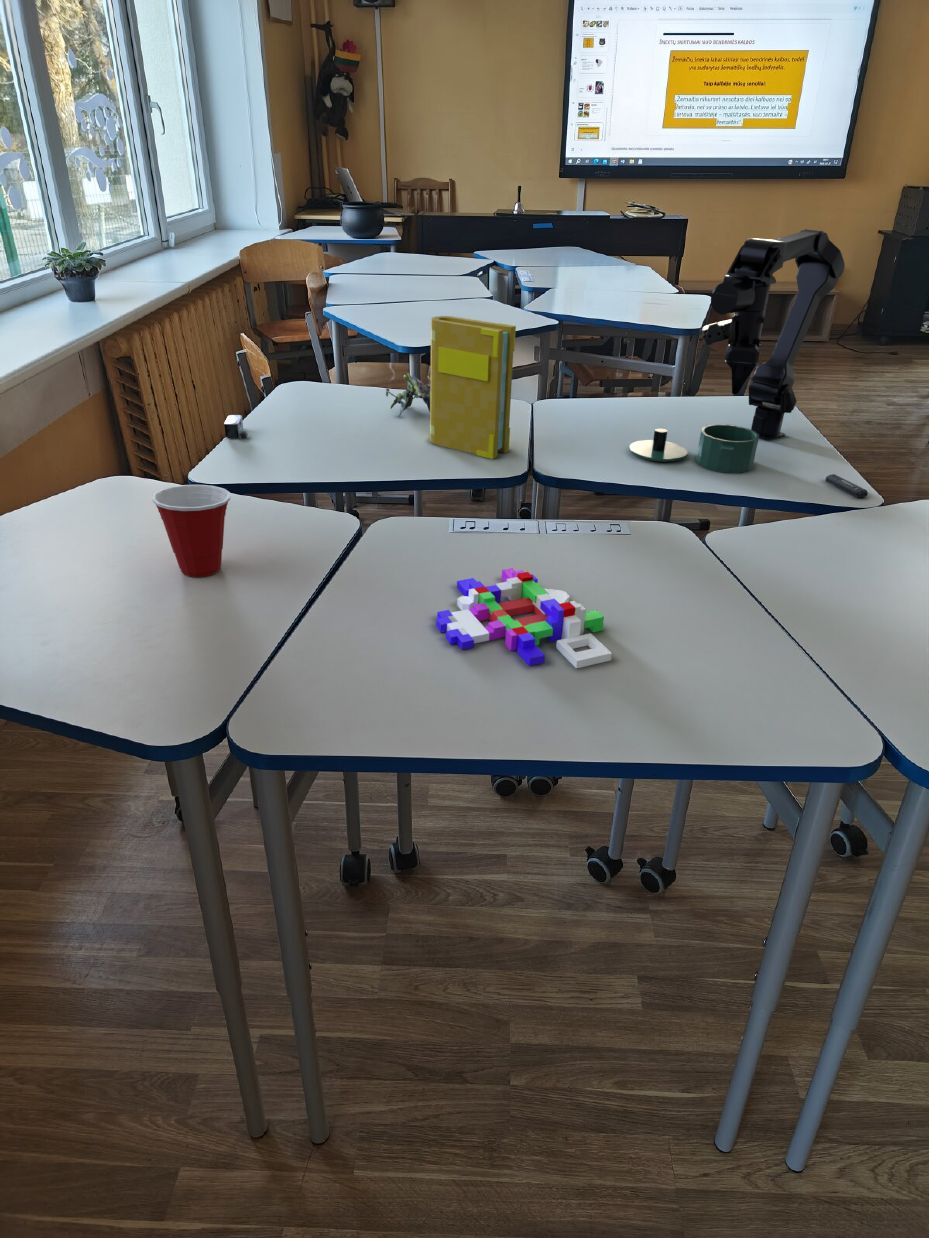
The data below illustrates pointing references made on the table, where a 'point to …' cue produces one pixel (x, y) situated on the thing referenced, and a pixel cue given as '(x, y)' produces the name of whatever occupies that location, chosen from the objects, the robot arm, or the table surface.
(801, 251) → the robot arm
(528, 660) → the building block set
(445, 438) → the book
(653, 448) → the lid
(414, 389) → the green spindly figure
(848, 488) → the usb stick
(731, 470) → the pot
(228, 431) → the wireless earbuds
